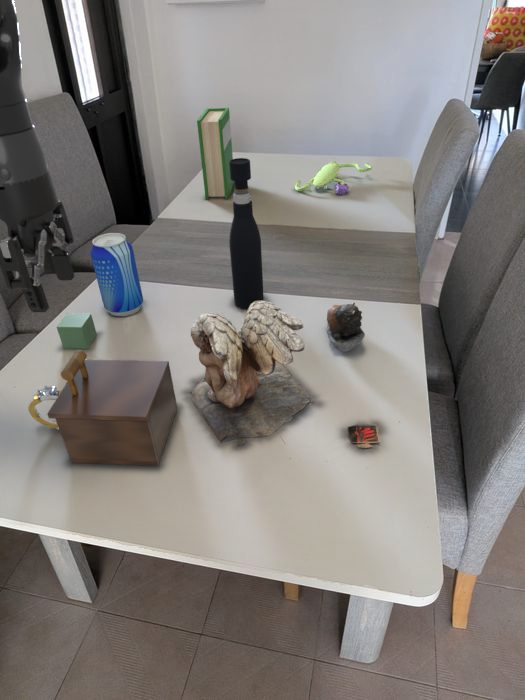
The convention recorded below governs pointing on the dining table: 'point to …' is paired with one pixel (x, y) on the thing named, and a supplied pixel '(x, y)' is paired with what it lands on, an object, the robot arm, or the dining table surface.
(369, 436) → the matchbox
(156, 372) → the lid
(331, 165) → the figurine
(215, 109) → the hardback book
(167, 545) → the dining table surface
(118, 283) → the beer can
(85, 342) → the block
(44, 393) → the ring
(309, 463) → the dining table surface
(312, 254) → the dining table surface
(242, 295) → the black bottle
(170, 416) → the chest
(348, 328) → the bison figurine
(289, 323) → the cherub figurine
